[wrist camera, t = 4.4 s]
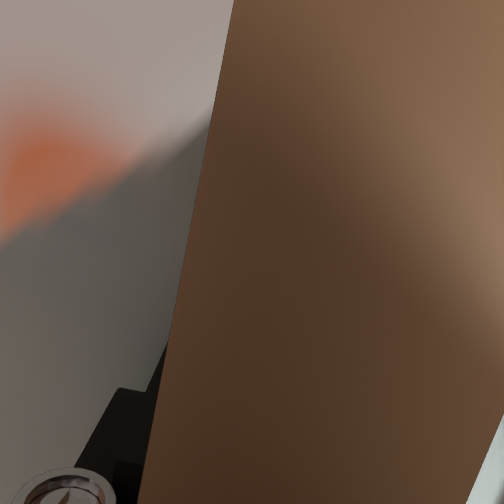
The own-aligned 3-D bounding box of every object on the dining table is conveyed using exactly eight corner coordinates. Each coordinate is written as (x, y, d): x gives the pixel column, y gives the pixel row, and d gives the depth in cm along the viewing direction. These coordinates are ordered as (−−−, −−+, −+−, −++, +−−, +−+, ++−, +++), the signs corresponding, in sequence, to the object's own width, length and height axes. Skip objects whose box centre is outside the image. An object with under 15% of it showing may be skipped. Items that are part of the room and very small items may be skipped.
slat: (414, 64, 9) (700, -56, 3) (239, 657, 13) (221, 1083, 7) (263, 27, 9) (267, -169, 3) (135, 637, 13) (31, 1054, 7)
